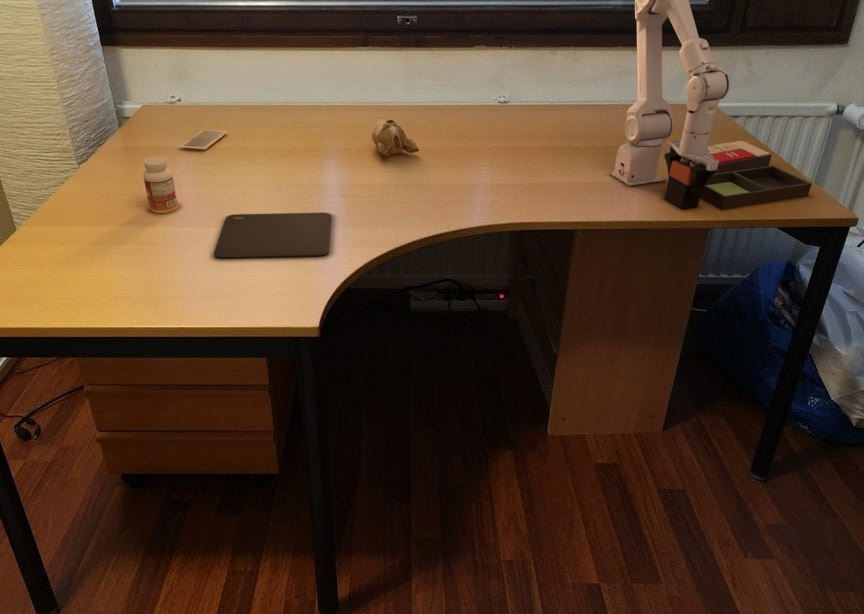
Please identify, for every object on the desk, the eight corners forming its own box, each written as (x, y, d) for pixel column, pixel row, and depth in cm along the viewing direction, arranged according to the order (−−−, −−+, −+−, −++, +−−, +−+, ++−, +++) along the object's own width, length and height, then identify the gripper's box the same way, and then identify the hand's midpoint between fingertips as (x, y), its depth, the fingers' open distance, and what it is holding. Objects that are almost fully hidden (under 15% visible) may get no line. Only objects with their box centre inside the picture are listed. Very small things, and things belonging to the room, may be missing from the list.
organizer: (721, 209, 164) (724, 197, 162) (686, 189, 174) (689, 177, 172) (808, 196, 170) (812, 183, 168) (769, 177, 180) (773, 165, 178)
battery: (682, 209, 164) (692, 166, 159) (663, 198, 169) (672, 156, 164) (698, 207, 165) (709, 163, 160) (679, 196, 171) (688, 153, 165)
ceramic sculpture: (399, 108, 198) (422, 128, 187) (399, 139, 204) (421, 160, 193) (362, 113, 195) (383, 133, 184) (362, 145, 201) (382, 166, 190)
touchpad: (229, 135, 209) (228, 127, 208) (206, 153, 197) (204, 145, 195) (203, 133, 210) (202, 125, 209) (179, 150, 198) (177, 142, 197)
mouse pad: (331, 213, 163) (331, 212, 163) (328, 256, 146) (328, 254, 146) (227, 215, 163) (227, 214, 163) (212, 258, 146) (212, 257, 146)
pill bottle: (152, 203, 169) (143, 156, 163) (179, 202, 170) (171, 155, 163) (147, 214, 164) (138, 166, 158) (176, 213, 164) (167, 165, 158)
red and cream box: (692, 147, 187) (742, 138, 190) (689, 163, 190) (739, 154, 193) (720, 161, 178) (773, 151, 182) (717, 178, 181) (769, 168, 184)
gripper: (736, 138, 153) (720, 200, 161) (691, 118, 165) (678, 177, 172) (707, 142, 152) (692, 204, 159) (664, 122, 163) (652, 180, 171)
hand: (683, 190), depth 166 cm, fingers closed on battery, 7 cm apart
